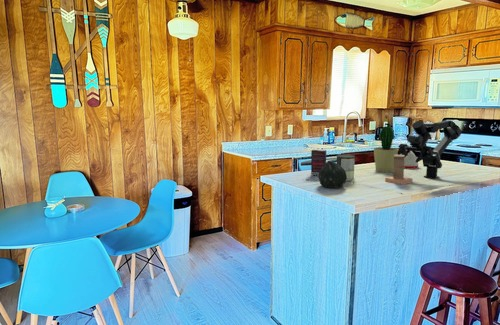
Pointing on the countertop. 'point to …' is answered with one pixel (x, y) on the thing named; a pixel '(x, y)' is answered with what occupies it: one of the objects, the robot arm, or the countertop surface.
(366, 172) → the countertop surface
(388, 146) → the potted cactus
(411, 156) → the knit hat
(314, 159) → the supplement box
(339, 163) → the coffee can
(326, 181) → the squash
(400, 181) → the top slab
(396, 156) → the walnut block
